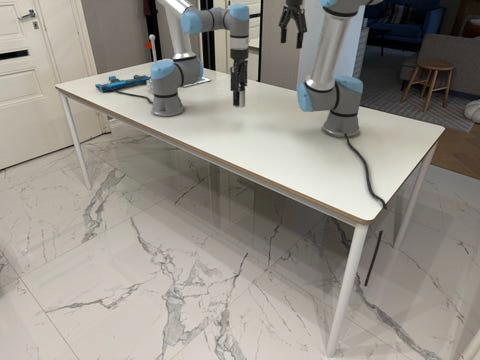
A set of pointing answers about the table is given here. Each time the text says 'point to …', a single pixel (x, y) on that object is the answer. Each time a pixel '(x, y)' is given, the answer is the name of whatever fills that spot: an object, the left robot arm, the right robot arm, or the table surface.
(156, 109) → the left robot arm
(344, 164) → the table surface
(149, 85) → the flag stand
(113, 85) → the submachine gun
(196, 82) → the tablet
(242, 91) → the canister
